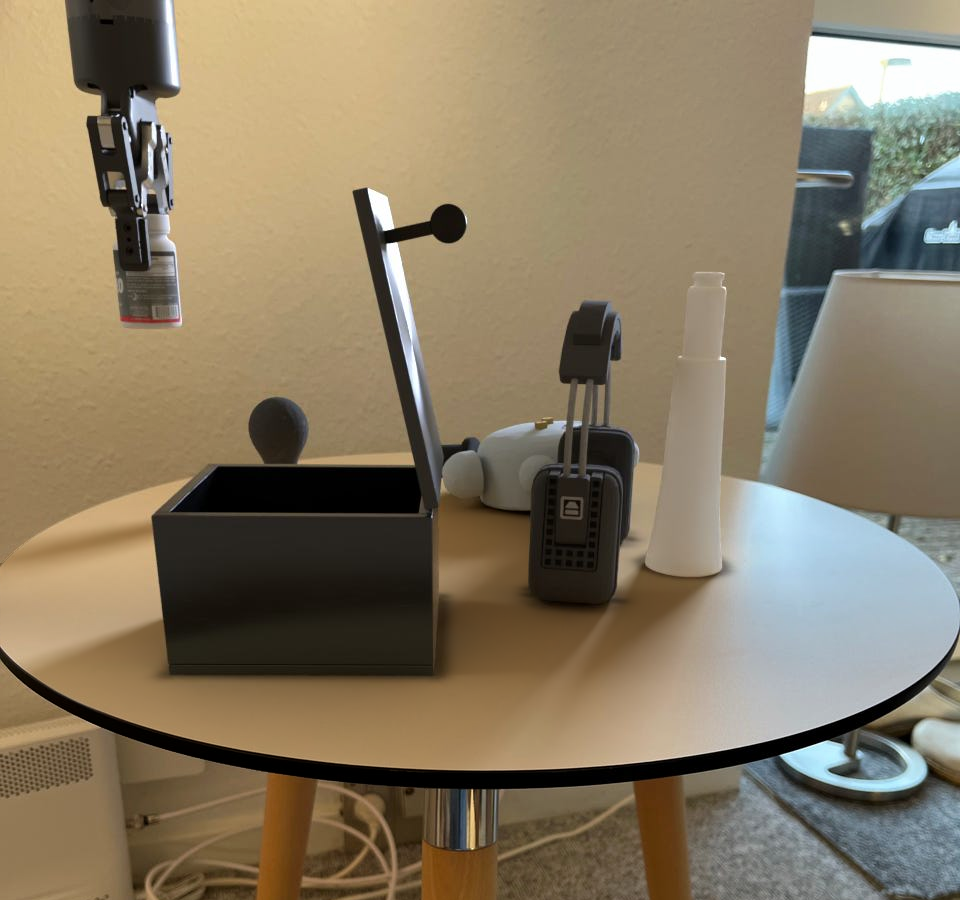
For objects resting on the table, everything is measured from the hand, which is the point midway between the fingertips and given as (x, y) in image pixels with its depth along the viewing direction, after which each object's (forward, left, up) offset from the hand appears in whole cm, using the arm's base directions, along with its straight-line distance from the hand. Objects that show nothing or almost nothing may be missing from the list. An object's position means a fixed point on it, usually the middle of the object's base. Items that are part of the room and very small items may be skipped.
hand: (145, 268), depth 80 cm
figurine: (+32, +13, -22) cm, 40 cm away
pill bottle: (0, 0, -5) cm, 5 cm away
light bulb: (+8, +12, -22) cm, 26 cm away
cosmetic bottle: (+43, -8, -22) cm, 49 cm away
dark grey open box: (+16, -23, -22) cm, 35 cm away
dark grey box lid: (+21, -23, -3) cm, 32 cm away
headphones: (+35, -8, -22) cm, 42 cm away
